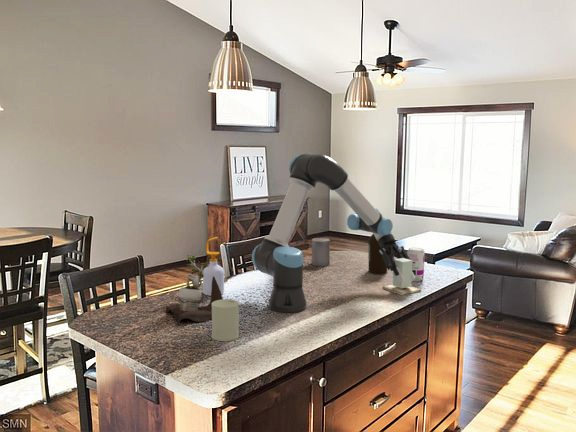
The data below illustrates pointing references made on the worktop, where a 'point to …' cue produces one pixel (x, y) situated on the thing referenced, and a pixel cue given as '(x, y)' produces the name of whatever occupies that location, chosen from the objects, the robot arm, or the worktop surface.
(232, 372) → the worktop surface
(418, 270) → the supplement can
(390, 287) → the post base
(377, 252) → the olive oil
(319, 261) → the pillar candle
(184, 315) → the potted plant
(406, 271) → the tall mint green block
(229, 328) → the can
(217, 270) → the soap bottle
